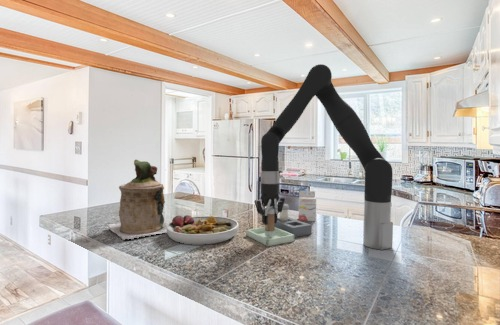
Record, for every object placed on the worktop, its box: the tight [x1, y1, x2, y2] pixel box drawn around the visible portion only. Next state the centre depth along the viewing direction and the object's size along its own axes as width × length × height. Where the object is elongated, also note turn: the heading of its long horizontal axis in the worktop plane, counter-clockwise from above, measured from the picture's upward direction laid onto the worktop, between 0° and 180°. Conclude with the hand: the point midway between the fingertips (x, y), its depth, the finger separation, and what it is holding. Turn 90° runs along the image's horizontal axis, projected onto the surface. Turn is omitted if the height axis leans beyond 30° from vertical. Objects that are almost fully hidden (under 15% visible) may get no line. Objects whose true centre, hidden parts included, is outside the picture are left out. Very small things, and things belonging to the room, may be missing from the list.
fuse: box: [279, 203, 290, 222], centre depth 136 cm, size 4×4×11 cm
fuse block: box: [275, 216, 313, 238], centre depth 133 cm, size 18×10×4 cm, turn 30°
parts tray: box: [245, 226, 296, 248], centre depth 122 cm, size 16×13×2 cm
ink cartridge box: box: [298, 190, 317, 222], centre depth 152 cm, size 9×5×15 cm, turn 84°
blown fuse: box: [264, 207, 275, 236], centre depth 122 cm, size 4×4×11 cm
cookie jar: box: [107, 159, 170, 240], centre depth 133 cm, size 25×25×32 cm
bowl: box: [166, 214, 239, 246], centre depth 126 cm, size 30×30×8 cm
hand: (269, 223), depth 122 cm, fingers closed on blown fuse, 4 cm apart
